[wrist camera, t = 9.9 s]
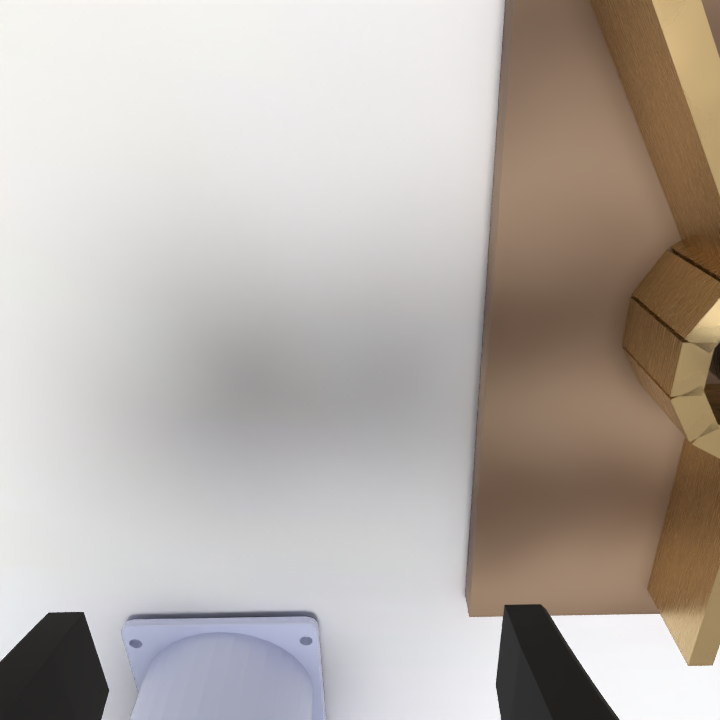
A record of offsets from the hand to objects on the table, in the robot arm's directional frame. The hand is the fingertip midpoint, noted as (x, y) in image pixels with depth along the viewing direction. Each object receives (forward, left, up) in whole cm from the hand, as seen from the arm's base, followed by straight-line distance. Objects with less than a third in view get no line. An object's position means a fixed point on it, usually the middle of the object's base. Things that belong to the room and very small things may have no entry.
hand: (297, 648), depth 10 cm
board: (+1, -10, -10) cm, 15 cm away
